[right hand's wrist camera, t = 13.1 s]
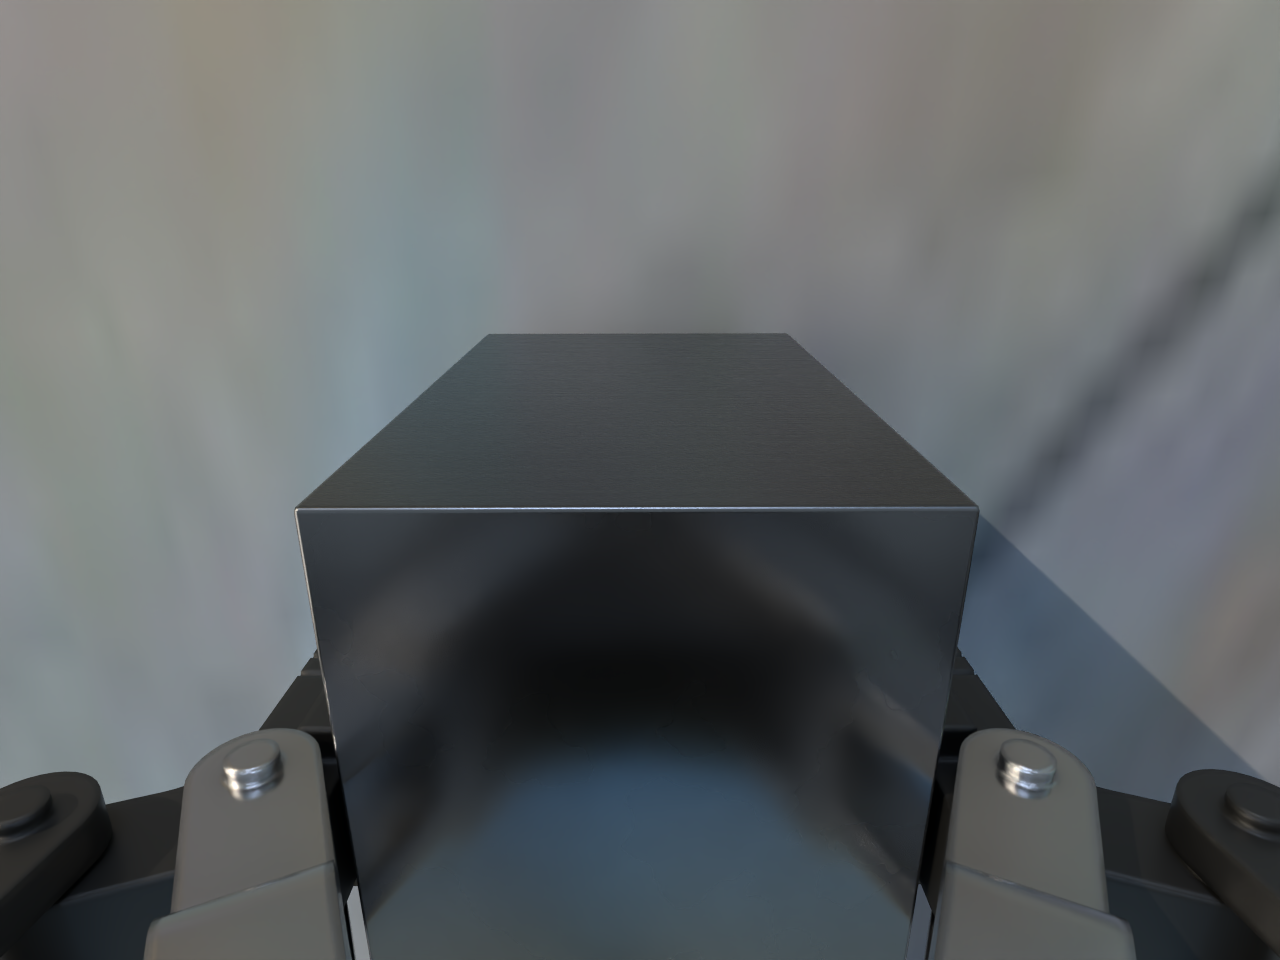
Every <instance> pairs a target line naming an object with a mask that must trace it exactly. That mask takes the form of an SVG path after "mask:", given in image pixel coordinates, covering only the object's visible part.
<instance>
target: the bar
mask: <svg viewBox="0 0 1280 960" xmlns="http://www.w3.org/2000/svg"><path fill="white" fill-rule="evenodd" d="M294 515H295V521H296V527H297V533H298V539H299V544H300V550H301V556H302V562H303V568H304V574H305V580H306V585H307V591H308V597H309V603H310V609H311V615H312V621H313V626H314V632H315V638H316V644H317V650H318V656H319V662H320V667H321V673H322V679H323V685H324V691H325V697H326V703H327V708H328V714H329V720H330V726H331V732H332V738H333V744H334V749H335V755H336V761H337V767H338V773H339V779H340V785H341V790H342V796H343V802H344V808H345V814H346V820H347V826H348V831H349V837H350V843H351V849H352V855H353V861H354V867H355V873H356V878H357V884H358V890H359V896H360V902H361V908H362V914H363V919H364V925H365V931H366V937H367V943H368V949H369V955H370V960H906V956H907V950H908V943H909V937H910V931H911V925H912V919H913V913H914V907H915V901H916V895H917V889H918V883H919V876H920V870H921V864H922V858H923V852H924V846H925V840H926V834H927V828H928V822H929V815H930V809H931V803H932V797H933V791H934V785H935V779H936V773H937V767H938V761H939V755H940V748H941V742H942V736H943V730H944V724H945V718H946V712H947V706H948V700H949V694H950V687H951V681H952V675H953V669H954V663H955V657H956V651H957V645H958V639H959V633H960V627H961V620H962V614H963V608H964V602H965V596H966V590H967V584H968V578H969V572H970V566H971V559H972V553H973V547H974V541H975V535H976V529H977V523H978V517H979V507H978V505H977V504H975V503H974V502H973V501H972V500H971V499H970V498H969V497H968V496H967V495H965V494H964V493H963V492H962V491H961V490H960V489H959V488H958V487H957V486H955V485H954V484H953V483H952V482H951V481H950V480H949V479H948V478H947V477H945V476H944V475H943V474H942V473H941V472H940V471H939V470H938V469H937V468H936V467H934V466H933V465H932V464H931V463H930V462H929V461H928V460H927V459H926V458H924V457H923V456H922V455H921V454H920V453H919V452H918V451H917V450H916V449H914V448H913V447H912V446H911V445H910V444H909V443H908V442H907V441H906V440H905V439H903V438H902V437H901V436H900V435H899V434H898V433H897V432H896V431H895V430H893V429H892V428H891V427H890V426H889V425H888V424H887V423H886V422H885V421H883V420H882V419H881V418H880V417H879V416H878V415H877V414H876V413H875V412H873V411H872V410H871V409H870V408H869V407H868V406H867V405H866V404H865V403H864V402H862V401H861V400H860V399H859V398H858V397H857V396H856V395H855V394H854V393H852V392H851V391H850V390H849V389H848V388H847V387H846V386H845V385H844V384H842V383H841V382H840V381H839V380H838V379H837V378H836V377H835V376H834V375H833V374H831V373H830V372H829V371H828V370H827V369H826V368H825V367H824V366H823V365H821V364H820V363H819V362H818V361H817V360H816V359H815V358H814V357H813V356H811V355H810V354H809V353H808V352H807V351H806V350H805V349H804V348H803V347H801V346H800V345H799V344H798V343H797V342H796V341H795V340H794V339H793V338H792V337H790V336H789V335H788V334H488V335H487V336H486V337H485V338H483V339H482V340H481V341H480V342H479V343H478V344H477V345H476V346H474V347H473V348H472V349H471V350H470V351H469V352H468V353H467V354H466V355H464V356H463V357H462V358H461V359H460V360H459V361H458V362H457V363H456V364H454V365H453V366H452V367H451V368H450V369H449V370H448V371H447V372H446V373H444V374H443V375H442V376H441V377H440V378H439V379H438V380H437V381H436V382H434V383H433V384H432V385H431V386H430V387H429V388H428V389H427V390H426V391H424V392H423V393H422V394H421V395H420V396H419V397H418V398H417V399H416V400H414V401H413V402H412V403H411V404H410V405H409V406H408V407H407V408H405V409H404V410H403V411H402V412H401V413H400V414H399V415H398V416H397V417H395V418H394V419H393V420H392V421H391V422H390V423H389V424H388V425H387V426H385V427H384V428H383V429H382V430H381V431H380V432H379V433H378V434H377V435H375V436H374V437H373V438H372V439H371V440H370V441H369V442H368V443H367V444H365V445H364V446H363V447H362V448H361V449H360V450H359V451H358V452H357V453H355V454H354V455H353V456H352V457H351V458H350V459H349V460H348V461H347V462H345V463H344V464H343V465H342V466H341V467H340V468H339V469H338V470H336V471H335V472H334V473H333V474H332V475H331V476H330V477H329V478H328V479H326V480H325V481H324V482H323V483H322V484H321V485H320V486H319V487H318V488H316V489H315V490H314V491H313V492H312V493H311V494H310V495H309V496H308V497H306V498H305V499H304V500H303V501H302V502H301V503H300V504H299V505H298V506H296V507H295V510H294Z"/></svg>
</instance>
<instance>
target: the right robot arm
mask: <svg viewBox="0 0 1280 960" xmlns="http://www.w3.org/2000/svg"><path fill="white" fill-rule="evenodd" d="M918 884H921V885H922V888H923V890H924V893H925V895H926V897H927V900H928V902H929V905H930V907H931V916H930V922H929V928H928V934H927V941H926V948H925V955H924V960H1280V788H1279V787H1277V786H1275V785H1272V784H1270V783H1268V782H1265V781H1263V780H1260V779H1257V778H1254V777H1251V776H1248V775H1244V774H1240V773H1237V772H1231V771H1225V770H1215V769H1205V770H1197V771H1192V772H1190V773H1187V774H1185V775H1184V776H1183V777H1182V778H1180V780H1179V782H1178V783H1177V786H1176V790H1175V793H1174V796H1173V800H1172V803H1166V802H1162V801H1157V800H1153V799H1148V798H1143V797H1139V796H1134V795H1130V794H1125V793H1121V792H1116V791H1111V790H1107V789H1103V788H1100V787H1096V785H1095V781H1094V778H1093V776H1092V775H1091V773H1090V771H1089V770H1088V769H1087V767H1086V766H1085V765H1084V764H1083V763H1082V762H1081V761H1080V760H1079V759H1078V758H1077V757H1076V756H1074V755H1073V754H1072V753H1071V752H1069V751H1068V750H1066V749H1065V748H1063V747H1061V746H1060V745H1058V744H1056V743H1054V742H1052V741H1050V740H1048V739H1046V738H1043V737H1041V736H1038V735H1035V734H1032V733H1028V732H1025V731H1020V730H1016V729H1015V728H1014V726H1013V725H1012V724H1011V722H1010V721H1009V719H1008V718H1007V716H1006V715H1005V714H1004V712H1003V711H1002V709H1001V708H1000V707H999V705H998V704H997V702H996V701H995V699H994V698H993V697H992V695H991V694H990V692H989V691H988V690H987V688H986V687H985V685H984V684H983V683H982V681H981V680H980V678H979V677H978V675H974V670H973V668H972V667H971V666H970V664H969V663H968V661H967V660H966V659H965V657H962V656H961V651H960V650H959V649H958V647H957V651H956V657H955V663H954V669H953V675H952V681H951V687H950V694H949V700H948V706H947V712H946V718H945V724H944V730H943V736H942V742H941V748H940V755H939V761H938V767H937V773H936V779H935V785H934V791H933V797H932V803H931V809H930V815H929V822H928V828H927V834H926V840H925V846H924V852H923V858H922V864H921V870H920V876H919V883H918ZM353 886H358V884H357V878H356V873H355V867H354V861H353V855H352V849H351V843H350V837H349V831H348V826H347V820H346V814H345V808H344V802H343V796H342V790H341V785H340V779H339V773H338V767H337V761H336V755H335V749H334V744H333V738H332V732H331V726H330V720H329V714H328V708H327V703H326V697H325V691H324V685H323V679H322V673H321V667H320V662H319V656H318V650H316V651H315V653H314V657H313V658H310V660H309V661H308V662H307V664H306V665H305V667H304V668H303V669H302V671H301V676H297V678H296V679H295V681H294V682H293V683H292V685H291V686H290V688H289V689H288V690H287V692H286V693H285V695H284V696H283V697H282V699H281V700H280V701H279V703H278V704H277V706H276V707H275V708H274V710H273V711H272V713H271V714H270V715H269V717H268V718H267V720H266V721H265V722H264V724H263V725H262V727H261V728H260V729H259V731H255V732H251V733H248V734H245V735H242V736H239V737H237V738H234V739H232V740H230V741H228V742H226V743H224V744H222V745H220V746H219V747H217V748H215V749H214V750H212V751H211V752H209V753H208V754H207V755H206V756H204V757H203V758H202V759H201V760H200V761H199V762H198V763H197V764H196V765H195V766H194V767H193V769H192V770H191V771H190V773H189V774H188V776H187V778H186V781H185V785H184V786H183V787H180V788H177V789H173V790H169V791H165V792H161V793H157V794H152V795H148V796H143V797H138V798H134V799H129V800H125V801H120V802H116V803H111V804H107V805H105V801H104V798H103V795H102V791H101V788H100V786H99V784H98V782H97V781H96V780H95V779H94V778H93V777H91V776H89V775H86V774H83V773H78V772H54V773H48V774H43V775H38V776H34V777H31V778H27V779H24V780H21V781H18V782H15V783H13V784H10V785H8V786H5V787H3V788H1V789H0V960H356V955H355V949H354V942H353V935H352V928H351V922H350V916H349V910H348V905H347V900H348V897H349V895H350V893H351V890H352V888H353Z"/></svg>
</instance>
